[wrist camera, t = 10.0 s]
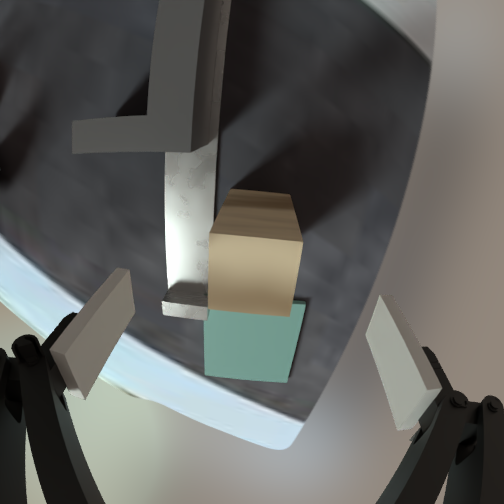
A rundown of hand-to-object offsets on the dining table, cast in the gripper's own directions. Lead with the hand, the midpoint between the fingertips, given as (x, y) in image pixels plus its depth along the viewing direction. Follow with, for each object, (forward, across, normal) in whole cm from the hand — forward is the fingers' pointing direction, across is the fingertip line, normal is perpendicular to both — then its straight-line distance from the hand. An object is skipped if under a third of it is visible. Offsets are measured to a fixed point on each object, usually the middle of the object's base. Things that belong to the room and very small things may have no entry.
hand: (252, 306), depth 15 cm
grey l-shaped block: (+12, -9, +15) cm, 21 cm away
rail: (+12, -6, +8) cm, 16 cm away
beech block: (+12, 0, 0) cm, 12 cm away
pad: (+12, 0, -14) cm, 18 cm away
